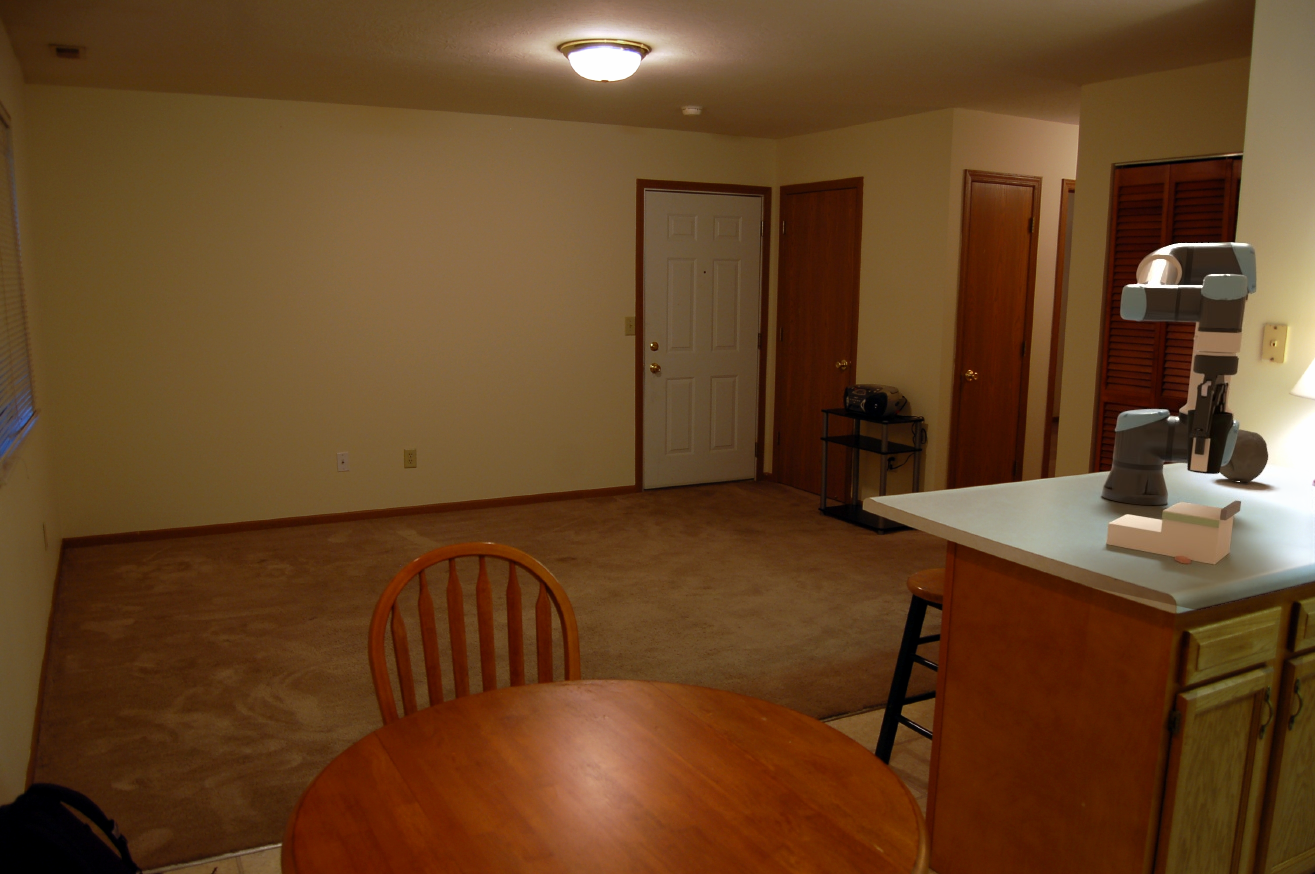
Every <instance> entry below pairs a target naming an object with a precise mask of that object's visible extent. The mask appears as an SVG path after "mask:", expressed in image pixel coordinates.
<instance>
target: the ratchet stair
mask: <svg viewBox="0 0 1315 874" xmlns="http://www.w3.org/2000/svg"><path fill="white" fill-rule="evenodd" d="M1241 507H1242V500H1236V499H1235V500H1234V501H1232V502H1231V503H1229V504H1227V505H1226V506H1224V507H1217V506H1210V505H1203V504H1197V503H1190V502H1184V501H1179V502H1177V503H1175V504H1173V505H1171V506H1169V507H1167V508H1166V509H1163V510H1162V512H1161V513H1162V516H1161V519H1160V518H1159V519H1158V518H1153V517H1146V516H1140V515H1134V514H1128V513H1127V514H1124V515H1122V516H1120V517H1118V518H1116V519H1114V520H1113V521H1110V522H1108V524H1107V525H1108V526H1107V534H1106V545H1110V546H1114V547H1119V548H1126V549H1130V550H1136V551H1139V552H1140V551H1141V552H1146V553H1152V554H1157V555H1164V556H1168V557H1173V558H1174V560H1175V561H1177V562H1179V563H1181V564H1191V561H1193V562H1194V561H1195V562H1199V563H1205V564H1211V565H1216V564H1217V563H1218V562H1220V561H1221V560H1222V559H1223V558H1225V557H1226V556H1227V555H1229V553H1230V549H1231V540H1232V535H1233V534H1232V532H1233V525H1234V518H1235V515H1236V514H1238V513H1239V512H1240V511H1241Z"/></svg>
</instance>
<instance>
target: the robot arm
mask: <svg viewBox="0 0 1315 874" xmlns="http://www.w3.org/2000/svg"><path fill="white" fill-rule="evenodd" d="M1256 256H1257V255H1256V249H1255V248H1254V246H1253V245H1252V244H1250V243H1243V242H1242V243H1241V242H1209V243H1208V242H1203V243H1201V242H1198V243H1196V242H1195V243H1194V242H1193V243H1187V242H1185V243H1182V242H1181V243H1174V244H1171V245H1167V246H1164V247H1161V248H1158V249H1156V250H1154V251H1153V252H1151V253H1149V254H1147V255H1146V256H1145V257H1143V259H1142V260H1141V261H1140V263H1139V264H1138V267H1137V270H1136V281H1137V283H1136V284H1127V285H1124V287H1123V288H1122V293H1121V299H1120V311H1119V313H1120V314H1119V315H1120V317H1121V318H1122V319H1123V320H1127V321H1136V322H1175V323H1176V322H1179V323H1181V322H1182V323H1195V330H1194V337H1193V347H1192V348H1193V349H1192V357H1191V358H1192V359H1191V366H1190V375H1189V383H1188V384H1189V385H1188V391H1187V392H1188V394H1187V401H1186V404H1185V405H1183V406H1182V407H1181V408H1179V412H1178V415H1175V416H1174V415H1171V413H1170V410H1169V409H1163V408H1162V409H1159V408H1151V409H1150V408H1147V409H1134V410H1127V411H1126V410H1125V411H1122V412H1121V413H1119V414H1118V416H1117V420H1116V426H1115V428H1114V432H1115V438H1114V447H1113V454H1112V463H1111V464H1112V465H1111V469H1110V471H1109V473H1108V475H1107V478H1106V480H1105V481H1104V484H1103V486H1102V489H1101V496H1102V497H1103V498H1105V499H1106V500H1109V501H1110V500H1111V501H1113V502H1114V501H1115V502H1119V503H1123V504H1125V503H1126V504H1131V505H1142V506H1159V505H1166V504H1167V503H1168V499H1169V491H1168V489H1167V485H1166V479H1165V477H1164V463H1165V462H1166V463H1168V462H1169V463H1177V464H1187V454H1188V410H1195V413H1194V419H1193V426H1192V431H1191V433H1189V437H1194V441H1193V449H1192V458H1191V467H1190V470H1195V471H1203V472H1206V471H1207V463H1208V455H1209V446H1210V439H1208V438H1209V433H1210V429H1211V424H1212V415H1213V414H1221V411H1223V412H1229V413H1232V414H1233V415H1232V419H1231V424H1230V428H1229V433H1228V437H1227V441H1226V446H1225V450H1224V455H1223V459H1222V464H1221V466H1224V465H1226V464H1227V463H1228V462H1229V461H1230V459H1231V456H1232V453H1233V450H1234V447H1235V443H1236V439H1237V434H1238V430H1239V429H1240V421H1238V420H1237V419H1234V416H1235V415H1234V414H1235V413H1234V412H1233V411H1232V410H1231V409H1230V407H1229V406H1228V403H1229V395H1230V390H1231V389H1230V386H1231V378H1232V376H1235V375H1236V374H1238V368H1239V362H1240V361H1239V359H1240V358H1239V357H1238V355H1237V354H1239V353H1240V352H1241V348H1242V347H1241V345H1242V344H1241V343H1242V338H1243V337H1242V336H1243V333H1242V331H1243V323H1244V317H1245V310H1246V309H1245V308H1246V303H1247V302H1248V301H1249V295H1250V294H1251V295H1252V294H1254V293H1255V294H1256V292H1257V258H1256Z"/></svg>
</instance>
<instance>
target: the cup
mask: <svg viewBox="0 0 1315 874" xmlns="http://www.w3.org/2000/svg"><path fill="white" fill-rule="evenodd" d="M1194 413H1195V410H1188V454H1187V465H1186V467H1187V469H1186V470H1187V471H1189V472H1192V473H1196V474H1205V475H1206V474H1208V475H1218V474H1220V468H1221V464H1222V459H1223V455H1224V450H1225V446H1226V441H1227V437H1228V433H1229V428H1230V424H1231V419H1232V415H1233V414H1232V413H1229V412H1223V411H1221V414H1213V415H1212V424H1211V429H1210V433H1209V438H1208V439H1210V446H1209V455H1208V463H1207V471H1206V472H1203V471H1195V470H1190V467H1191V458H1192V449H1193V441H1194V437H1189V433H1191V431H1192V426H1193V419H1194Z"/></svg>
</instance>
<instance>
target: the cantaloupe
mask: <svg viewBox="0 0 1315 874" xmlns="http://www.w3.org/2000/svg"><path fill="white" fill-rule="evenodd" d="M1267 446H1268V444H1267V442H1266V440H1265V439H1264V437H1263V436H1262V435H1261V434H1260V433H1258V432H1253V431H1250V430H1245V429H1240V428H1239V430H1238V434H1237V439H1236V443H1235V447H1234V450H1233V453H1232V456H1231V459H1230V461H1229V462H1228V463H1227V464H1226V465H1224V466H1221V468H1220V472H1219V474H1221V475H1222V476H1223V477H1224V478H1226V479H1227V480H1229V481H1232V482H1234V481H1240V482H1244V483H1247V482H1251V481H1254V480H1255V479H1256V478H1258V477H1259V476H1260V475H1261V474H1262V473H1263V471H1264V470H1265V468H1266V466H1267V464H1268V461H1269V452H1268V447H1267Z"/></svg>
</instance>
